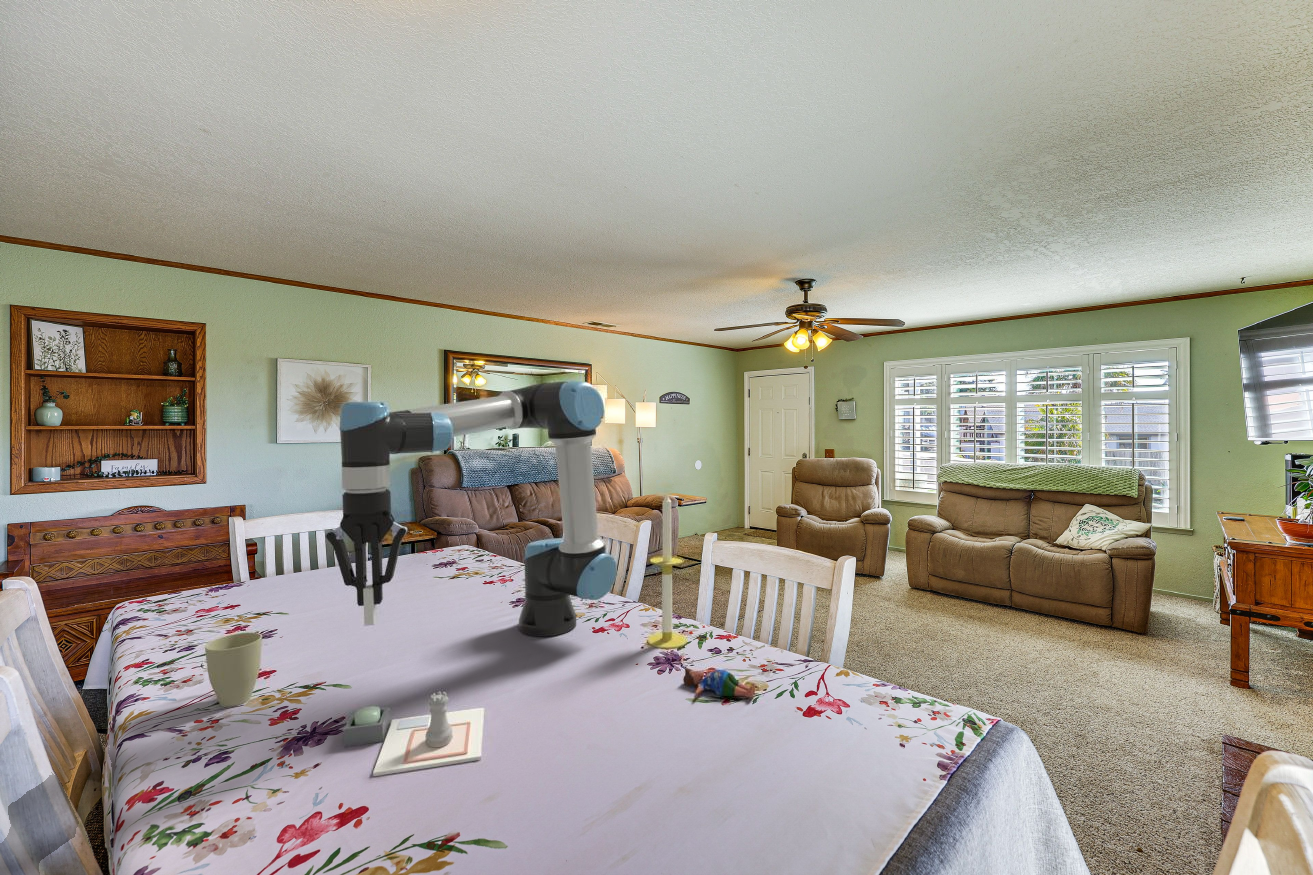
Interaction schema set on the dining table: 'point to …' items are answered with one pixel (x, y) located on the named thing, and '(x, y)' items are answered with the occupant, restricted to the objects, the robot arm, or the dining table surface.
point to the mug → (234, 666)
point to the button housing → (366, 730)
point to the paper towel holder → (667, 587)
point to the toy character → (717, 683)
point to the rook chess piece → (438, 722)
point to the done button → (367, 716)
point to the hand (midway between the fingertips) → (370, 622)
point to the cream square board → (413, 753)
